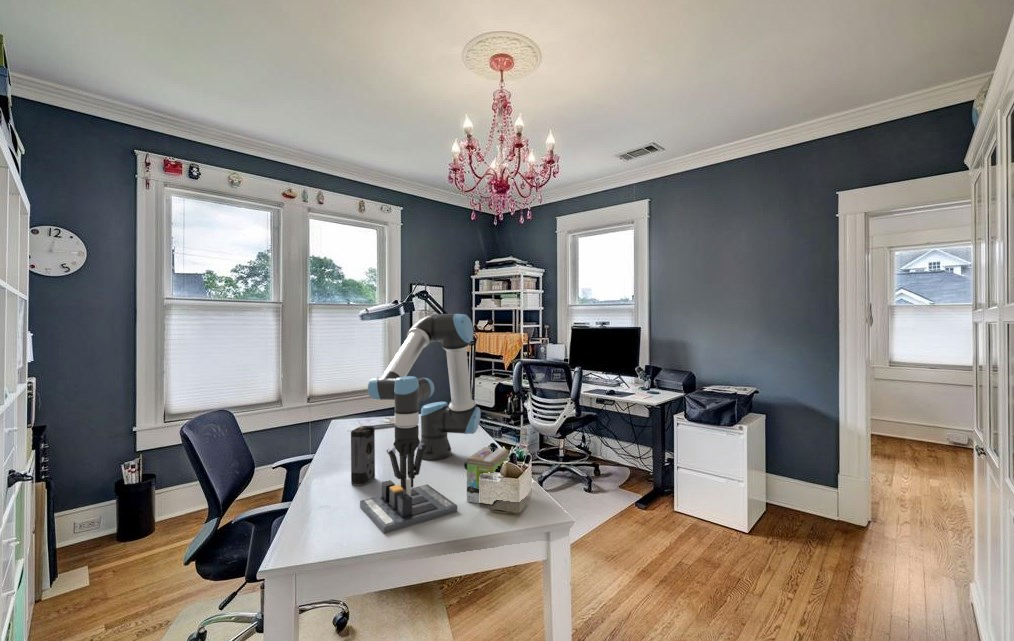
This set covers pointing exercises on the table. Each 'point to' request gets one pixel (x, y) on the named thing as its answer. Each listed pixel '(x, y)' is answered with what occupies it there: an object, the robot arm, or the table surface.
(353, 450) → the electronic device
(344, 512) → the table surface
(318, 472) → the table surface
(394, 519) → the panel
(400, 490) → the block
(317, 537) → the table surface
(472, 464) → the tea box
